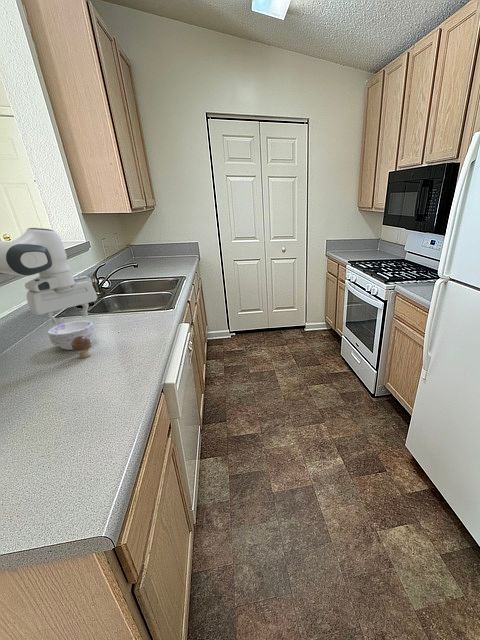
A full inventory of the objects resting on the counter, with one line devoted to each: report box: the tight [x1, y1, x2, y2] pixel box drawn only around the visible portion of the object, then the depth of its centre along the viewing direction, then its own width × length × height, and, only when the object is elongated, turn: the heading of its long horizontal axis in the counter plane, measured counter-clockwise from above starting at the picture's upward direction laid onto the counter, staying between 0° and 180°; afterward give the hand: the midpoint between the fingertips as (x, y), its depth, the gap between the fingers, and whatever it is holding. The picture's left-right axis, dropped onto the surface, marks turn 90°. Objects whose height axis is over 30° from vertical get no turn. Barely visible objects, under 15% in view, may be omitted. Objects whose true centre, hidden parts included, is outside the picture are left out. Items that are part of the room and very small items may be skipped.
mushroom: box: [71, 336, 93, 359], centre depth 121 cm, size 6×6×8 cm
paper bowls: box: [47, 320, 97, 351], centre depth 130 cm, size 15×15×8 cm
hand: (71, 319), depth 116 cm, fingers open, 8 cm apart
